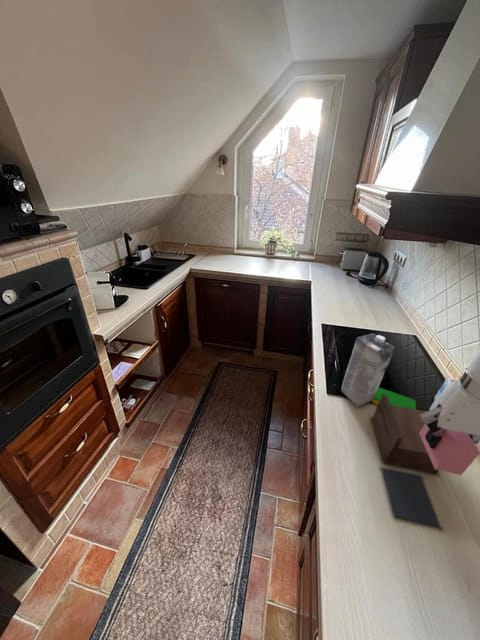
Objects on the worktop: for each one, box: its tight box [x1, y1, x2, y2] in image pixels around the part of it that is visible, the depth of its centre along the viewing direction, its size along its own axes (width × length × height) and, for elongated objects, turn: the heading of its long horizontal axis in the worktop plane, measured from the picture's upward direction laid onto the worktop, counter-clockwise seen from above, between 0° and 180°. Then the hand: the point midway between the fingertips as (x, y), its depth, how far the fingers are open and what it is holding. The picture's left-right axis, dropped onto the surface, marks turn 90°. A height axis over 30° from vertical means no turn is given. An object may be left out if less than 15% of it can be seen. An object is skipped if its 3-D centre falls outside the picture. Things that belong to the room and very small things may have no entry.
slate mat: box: [382, 468, 440, 528], centre depth 67 cm, size 10×12×1 cm
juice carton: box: [340, 332, 396, 407], centre depth 90 cm, size 9×10×27 cm
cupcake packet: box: [419, 419, 480, 476], centre depth 56 cm, size 5×9×8 cm, turn 168°
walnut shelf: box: [371, 394, 440, 475], centre depth 77 cm, size 14×16×12 cm
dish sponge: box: [370, 386, 417, 409], centre depth 94 cm, size 7×14×2 cm, turn 60°
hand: (443, 445), depth 56 cm, fingers closed on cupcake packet, 5 cm apart
